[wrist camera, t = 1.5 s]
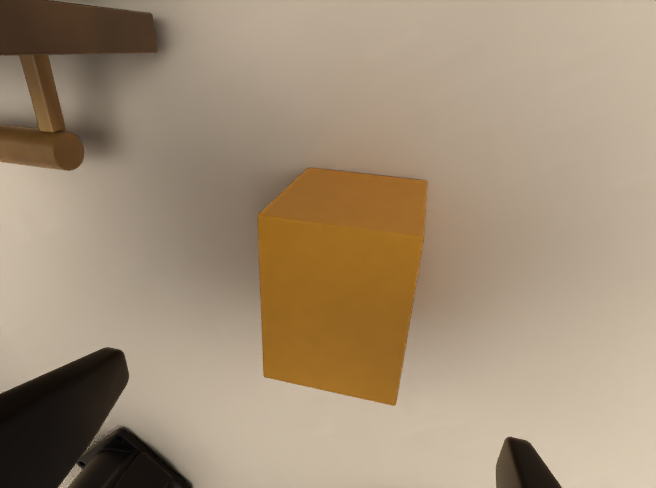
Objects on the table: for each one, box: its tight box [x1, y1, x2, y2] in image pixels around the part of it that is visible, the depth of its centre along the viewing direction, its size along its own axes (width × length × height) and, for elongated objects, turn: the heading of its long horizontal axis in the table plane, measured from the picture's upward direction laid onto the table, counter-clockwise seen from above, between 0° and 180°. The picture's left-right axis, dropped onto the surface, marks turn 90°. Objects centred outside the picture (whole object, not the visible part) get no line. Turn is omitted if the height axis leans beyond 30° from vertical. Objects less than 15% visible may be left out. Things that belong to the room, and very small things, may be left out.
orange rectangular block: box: [258, 168, 427, 406], centre depth 14 cm, size 6×4×5 cm
